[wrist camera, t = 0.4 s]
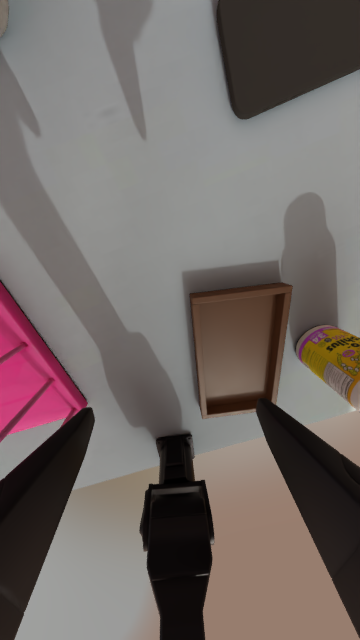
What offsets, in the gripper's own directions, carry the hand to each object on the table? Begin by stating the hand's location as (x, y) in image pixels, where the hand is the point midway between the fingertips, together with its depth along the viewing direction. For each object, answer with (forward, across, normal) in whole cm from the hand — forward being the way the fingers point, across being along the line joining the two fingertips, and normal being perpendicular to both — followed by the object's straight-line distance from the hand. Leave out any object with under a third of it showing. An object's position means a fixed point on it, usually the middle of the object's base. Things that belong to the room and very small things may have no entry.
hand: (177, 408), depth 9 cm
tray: (+14, -9, +6) cm, 18 cm away
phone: (+14, -12, -24) cm, 30 cm away
